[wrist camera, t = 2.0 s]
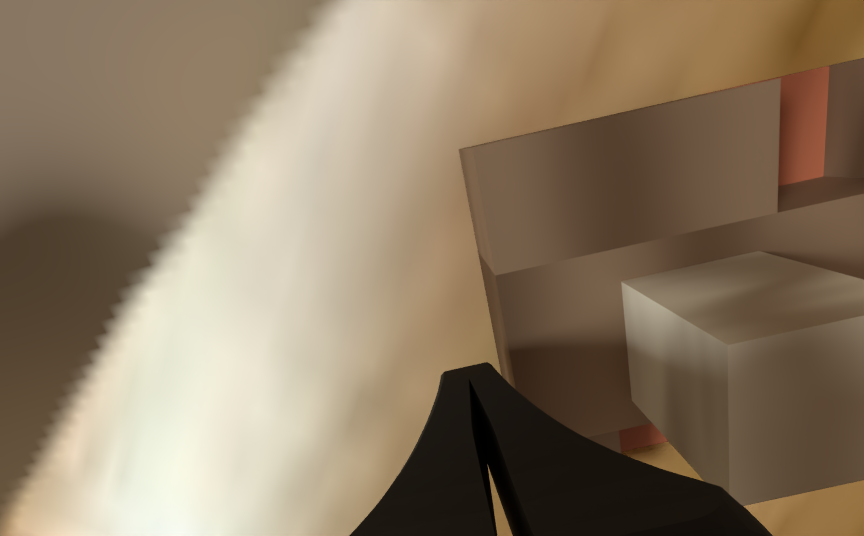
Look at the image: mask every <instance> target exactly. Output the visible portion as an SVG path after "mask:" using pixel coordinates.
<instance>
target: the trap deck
mask: <svg viewBox="0 0 864 536" xmlns="http://www.w3.org/2000/svg"><path fill="white" fill-rule="evenodd" d="M459 153H460V159H461V164H462V169H463V174H464V180H465V185H466V190H467V195H468V201H469V206H470V211H471V217H472V222H473V227H474V232H475V238H476V243H477V248H478V253H479V259H480V264H481V269H482V274H483V280H484V285H485V290H486V295H487V301H488V306H489V311H490V316H491V322H492V327H493V332H494V338H495V343H496V348H497V353H498V359H499V364H500V369H501V374H502V377H503V378H504V379H505V380H506V381H507V382H508V383H509V384H510V385H511V386H512V387H514V388H515V389H516V390H517V391H518V392H519V393H521V394H522V395H523V396H524V397H525V398H527V399H528V400H529V401H530V402H532V403H533V404H534V405H535V406H537V407H538V408H539V409H541V410H542V411H544V412H545V413H546V414H548V415H549V416H551V417H552V418H554V419H555V420H557V421H558V422H560V423H561V424H563V425H564V426H566V427H568V428H570V429H571V430H573V431H575V432H576V433H578V434H580V435H582V436H584V437H586V438H588V439H590V440H592V441H594V442H596V443H598V444H600V445H603V446H605V447H607V448H609V449H611V450H613V451H616V452H618V453H620V454H621V452H622V451H627V450H631V449H636V448H641V447H645V446H650V445H654V444H659V443H664V442H668V440H667V439H666V438H665V437H664V436H663V435H662V433H661V432H660V431H659V430H658V429H657V428H656V427H655V426H654V425H653V423H652V422H651V421H650V420H649V419H648V418H647V417H646V416H645V415H644V413H643V412H642V411H641V410H640V409H639V408H638V407H637V406H636V405H635V403H634V402H633V401H632V397H631V386H630V374H629V363H628V352H627V341H626V330H625V318H624V307H623V296H622V285H621V281H626V280H631V279H635V278H640V277H644V276H649V275H653V274H658V273H662V272H667V271H671V270H676V269H680V268H685V267H689V266H694V265H698V264H703V263H707V262H712V261H716V260H721V259H725V258H730V257H734V256H739V255H743V254H748V253H752V252H757V251H761V252H765V253H768V254H772V255H776V256H779V257H783V258H787V259H790V260H794V261H798V262H801V263H805V264H809V265H812V266H816V267H820V268H823V269H827V270H831V271H834V272H838V273H842V274H845V275H849V276H853V277H856V278H860V279H863V280H864V58H861V59H857V60H852V61H848V62H844V63H839V64H835V65H830V66H826V67H821V68H817V69H813V70H808V71H804V72H799V73H795V74H790V75H786V76H782V77H777V78H773V79H768V80H764V81H759V82H755V83H751V84H746V85H742V86H737V87H733V88H728V89H724V90H720V91H715V92H711V93H706V94H702V95H697V96H693V97H689V98H684V99H680V100H675V101H671V102H666V103H662V104H658V105H653V106H649V107H644V108H640V109H635V110H631V111H627V112H622V113H618V114H613V115H609V116H604V117H600V118H596V119H591V120H587V121H582V122H578V123H573V124H569V125H565V126H560V127H556V128H551V129H547V130H542V131H538V132H534V133H529V134H525V135H520V136H516V137H511V138H507V139H503V140H498V141H494V142H489V143H485V144H480V145H476V146H472V147H467V148H463V149H459Z"/></svg>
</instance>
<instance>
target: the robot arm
mask: <svg viewBox="0 0 864 536" xmlns="http://www.w3.org/2000/svg"><path fill="white" fill-rule="evenodd" d="M487 464H488V465H487ZM488 467H489V469H490V472H491V475H492V478H493V481H494V484H495V487H496V489H497V492H498V495H499V498H500V501H501V504H502V506H503V509H504V512H505V515H506V518H507V521H508V523H509V526H510V529H511V532H512V535H513V536H772V534H771V533H770V532H769V531H768V530H767V529H766V528H765V527H764V526H763V525H762V524H761V523H760V522H759V521H758V520H757V519H756V518H755V517H754V516H753V515H752V514H751V513H750V512H749V511H748V510H747V509H746V508H744V507H743V506H742V505H741V504H740V503H739V502H738V501H736V500H735V499H734V498H733V497H732V496H731V495H730V494H729V493H727V492H726V491H725V490H724V489H723V488H722V487H721V486H717V485H714V484H711V483H707V482H704V481H700V480H697V479H693V478H690V477H686V476H683V475H679V474H676V473H673V472H669V471H666V470H663V469H660V468H657V467H654V466H652V465H649V464H646V463H643V462H641V461H638V460H635V459H633V458H630V457H628V456H625V455H623V454H620V453H618V452H616V451H613V450H611V449H609V448H607V447H605V446H603V445H600V444H598V443H596V442H594V441H592V440H590V439H588V438H586V437H584V436H582V435H580V434H578V433H576V432H575V431H573V430H571V429H570V428H568V427H566V426H564V425H563V424H561V423H560V422H558V421H557V420H555V419H554V418H552V417H551V416H549V415H548V414H546V413H545V412H544V411H542V410H541V409H539V408H538V407H537V406H535V405H534V404H533V403H532V402H530V401H529V400H528V399H527V398H525V397H524V396H523V395H522V394H521V393H519V392H518V391H517V390H516V389H515V388H514V387H512V386H511V385H510V384H509V383H508V382H507V381H506V380H505V379H504V378H503V377H502V376H501V375H500V374H499V373H498V372H497V371H496V370H495V369H494V367H493V366H492V365H491V364H489V363H488V362H486V363H481V364H477V365H472V366H468V367H463V368H458V369H454V370H449V371H445V372H444V373H443V374H442V375H441V380H440V385H439V389H438V393H437V396H436V399H435V402H434V405H433V407H432V410H431V413H430V415H429V418H428V420H427V423H426V425H425V427H424V429H423V431H422V434H421V436H420V438H419V440H418V442H417V444H416V446H415V448H414V450H413V452H412V453H411V455H410V457H409V459H408V460H407V462H406V464H405V465H404V467H403V469H402V470H401V472H400V473H399V475H398V476H397V478H396V479H395V481H394V482H393V483H392V485H391V486H390V488H389V489H388V491H387V492H386V493H385V495H384V496H383V498H382V499H381V500H380V501H379V503H378V504H377V505H376V506H375V508H374V509H373V510H372V511H371V512H370V514H369V515H368V516H367V517H366V518H365V519H364V520H363V521H362V523H361V524H360V525H359V526H358V527H357V528H356V529H355V530H354V531H353V532H352V533H351V535H350V536H497V530H496V523H495V516H494V509H493V501H492V494H491V487H490V480H489V473H488Z"/></svg>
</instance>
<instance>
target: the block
mask: <svg viewBox="0 0 864 536" xmlns="http://www.w3.org/2000/svg"><path fill="white" fill-rule="evenodd" d="M621 285H622V296H623V307H624V318H625V330H626V341H627V352H628V363H629V374H630V386H631V397H632V401H633V402H634V403H635V405H636V406H637V407H638V408H639V409H640V410H641V411H642V412H643V413H644V415H645V416H646V417H647V418H648V419H649V420H650V421H651V422H652V423H653V425H654V426H655V427H656V428H657V429H658V430H659V431H660V432H661V433H662V435H663V436H664V437H665V438H666V439H667V440H668V441H669V442H670V443H671V444H672V446H673V447H674V448H675V449H676V450H677V451H678V452H679V453H680V454H681V456H682V457H683V458H684V459H685V460H686V461H687V462H688V463H689V464H690V466H691V467H692V468H693V469H694V470H695V471H696V472H697V473H698V474H699V476H700V477H701V478H702V479H703V480H704V481H705V482H707V483H711V484H714V485H717V486H721V487H722V488H723V489H724V490H725V491H726V492H727V493H729V494H730V495H731V496H732V497H733V498H734V499H735V500H736V501H738V502H739V503H740V504H741V505H742V506H745V505H750V504H755V503H759V502H764V501H768V500H773V499H778V498H782V497H787V496H792V495H796V494H801V493H806V492H810V491H815V490H820V489H824V488H829V487H834V486H838V485H843V484H847V483H852V482H857V481H861V480H864V280H863V279H860V278H856V277H853V276H849V275H845V274H842V273H838V272H834V271H831V270H827V269H823V268H820V267H816V266H812V265H809V264H805V263H801V262H798V261H794V260H790V259H787V258H783V257H779V256H776V255H772V254H768V253H765V252H761V251H757V252H752V253H748V254H743V255H739V256H734V257H730V258H725V259H721V260H716V261H712V262H707V263H703V264H698V265H694V266H689V267H685V268H680V269H676V270H671V271H667V272H662V273H658V274H653V275H649V276H644V277H640V278H635V279H631V280H626V281H621Z"/></svg>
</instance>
